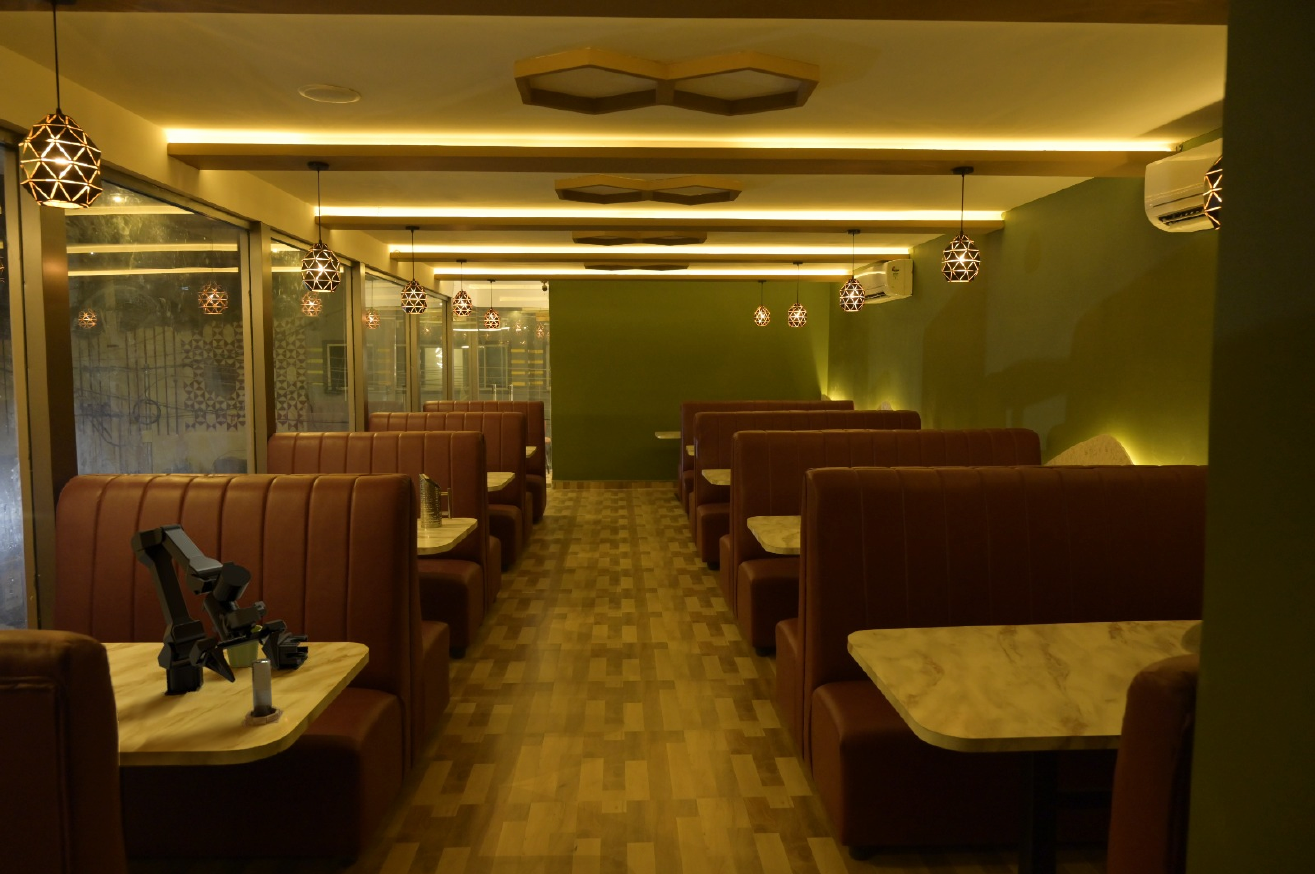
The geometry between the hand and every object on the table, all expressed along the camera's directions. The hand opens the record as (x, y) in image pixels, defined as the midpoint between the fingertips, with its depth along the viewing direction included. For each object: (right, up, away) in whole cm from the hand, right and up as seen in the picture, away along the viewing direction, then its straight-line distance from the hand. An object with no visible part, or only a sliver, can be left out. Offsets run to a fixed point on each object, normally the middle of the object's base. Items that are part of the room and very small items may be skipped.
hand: (255, 674), depth 171 cm
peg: (+2, -9, -1) cm, 9 cm away
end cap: (-9, -8, +35) cm, 37 cm away
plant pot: (-20, -8, +35) cm, 41 cm away
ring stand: (+2, -10, 0) cm, 10 cm away
